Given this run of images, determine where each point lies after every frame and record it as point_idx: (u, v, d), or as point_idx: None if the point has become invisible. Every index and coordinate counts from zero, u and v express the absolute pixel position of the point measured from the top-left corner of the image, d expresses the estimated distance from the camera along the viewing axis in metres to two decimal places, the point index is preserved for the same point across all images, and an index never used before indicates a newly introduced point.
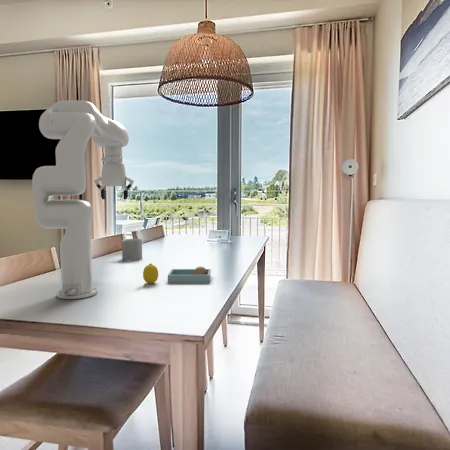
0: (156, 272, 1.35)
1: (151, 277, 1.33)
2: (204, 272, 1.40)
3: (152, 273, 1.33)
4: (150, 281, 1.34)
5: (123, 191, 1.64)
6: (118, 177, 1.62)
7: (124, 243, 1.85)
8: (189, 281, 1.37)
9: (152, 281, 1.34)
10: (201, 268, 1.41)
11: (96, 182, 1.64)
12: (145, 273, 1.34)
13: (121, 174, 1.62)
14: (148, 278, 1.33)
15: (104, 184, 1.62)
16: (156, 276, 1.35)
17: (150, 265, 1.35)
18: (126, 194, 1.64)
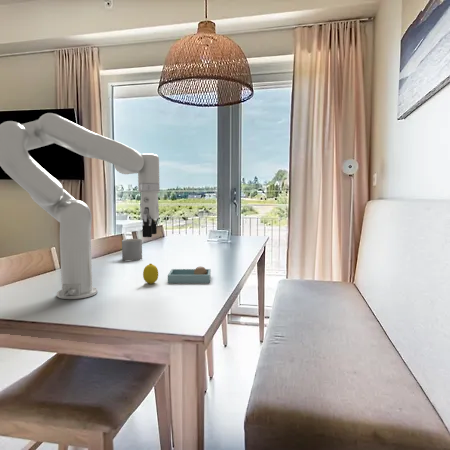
0: (156, 272, 1.35)
1: (151, 277, 1.33)
2: (204, 272, 1.40)
3: (152, 273, 1.33)
4: (150, 281, 1.34)
5: (155, 225, 1.39)
6: (158, 209, 1.37)
7: (124, 243, 1.85)
8: (189, 281, 1.37)
9: (152, 281, 1.34)
10: (201, 268, 1.41)
11: (147, 216, 1.27)
12: (145, 273, 1.34)
13: None
14: (148, 278, 1.33)
15: (155, 218, 1.31)
16: (156, 276, 1.35)
17: (150, 265, 1.35)
18: None
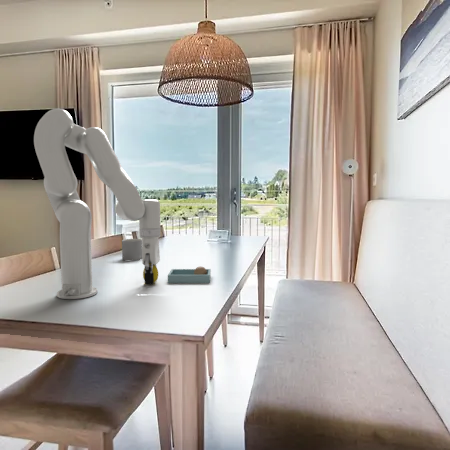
0: (156, 272, 1.35)
1: None
2: (204, 272, 1.40)
3: None
4: None
5: None
6: (159, 252, 1.38)
7: (124, 243, 1.85)
8: (189, 281, 1.37)
9: None
10: (201, 268, 1.41)
11: (148, 266, 1.29)
12: None
13: None
14: None
15: (156, 263, 1.32)
16: (156, 276, 1.35)
17: None
18: None
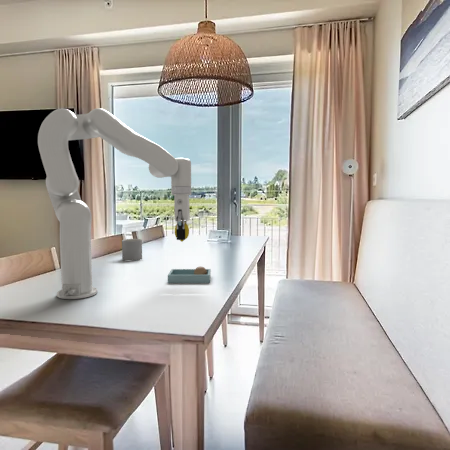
0: (187, 229, 1.39)
1: None
2: (204, 272, 1.40)
3: None
4: None
5: None
6: (189, 210, 1.43)
7: (124, 243, 1.85)
8: (189, 281, 1.37)
9: None
10: (201, 268, 1.41)
11: (181, 221, 1.34)
12: None
13: None
14: None
15: (187, 219, 1.37)
16: (187, 233, 1.39)
17: None
18: None
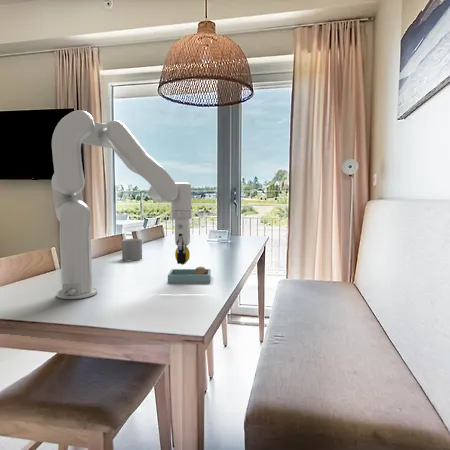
0: (188, 252, 1.40)
1: None
2: (204, 272, 1.40)
3: None
4: None
5: None
6: (189, 233, 1.43)
7: (124, 243, 1.85)
8: (189, 281, 1.37)
9: None
10: (201, 268, 1.41)
11: (181, 245, 1.35)
12: None
13: None
14: None
15: (188, 243, 1.38)
16: (188, 256, 1.40)
17: None
18: None
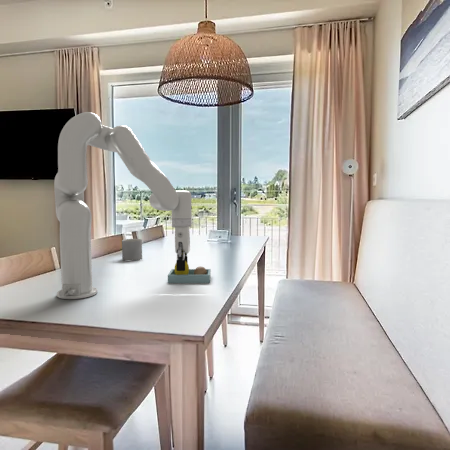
0: (187, 267, 1.40)
1: (183, 272, 1.39)
2: (204, 272, 1.40)
3: None
4: None
5: (186, 257, 1.45)
6: (189, 241, 1.44)
7: (124, 243, 1.85)
8: (189, 281, 1.37)
9: None
10: (201, 268, 1.41)
11: (181, 252, 1.34)
12: None
13: None
14: (180, 273, 1.39)
15: (188, 252, 1.38)
16: (187, 271, 1.40)
17: None
18: None
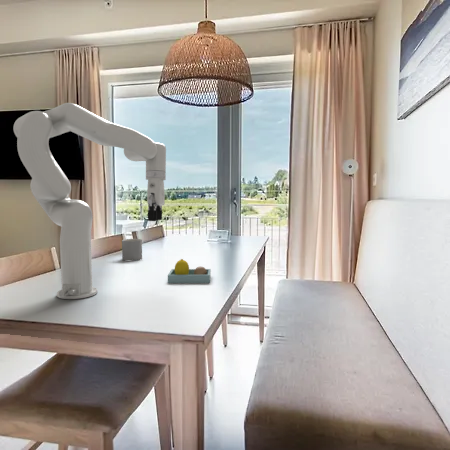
0: (187, 267, 1.40)
1: (183, 271, 1.39)
2: (204, 272, 1.40)
3: (184, 268, 1.39)
4: None
5: (161, 211, 1.47)
6: (163, 195, 1.44)
7: (124, 243, 1.85)
8: (189, 281, 1.37)
9: None
10: (201, 268, 1.41)
11: (152, 201, 1.34)
12: (177, 268, 1.39)
13: None
14: (180, 273, 1.39)
15: (160, 203, 1.38)
16: (187, 271, 1.40)
17: (182, 260, 1.40)
18: None
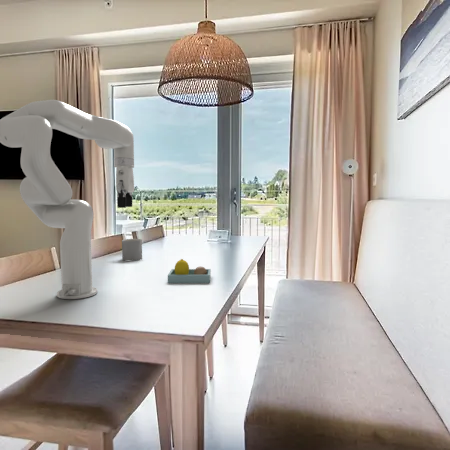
0: (187, 267, 1.40)
1: (183, 271, 1.39)
2: (204, 272, 1.40)
3: (184, 268, 1.39)
4: None
5: (131, 198, 1.50)
6: (133, 183, 1.48)
7: (124, 243, 1.85)
8: (189, 281, 1.37)
9: None
10: (201, 268, 1.41)
11: (120, 187, 1.37)
12: (177, 268, 1.39)
13: (133, 179, 1.49)
14: (180, 273, 1.39)
15: (129, 190, 1.42)
16: (187, 271, 1.40)
17: (181, 260, 1.40)
18: None
